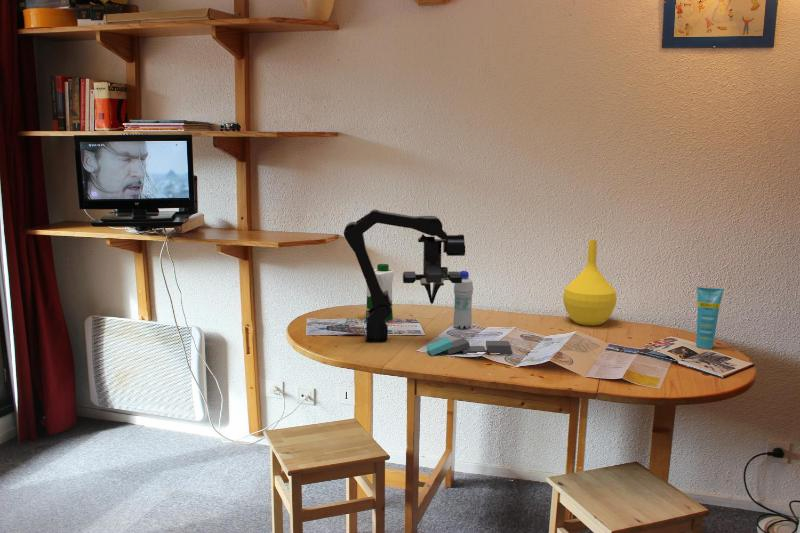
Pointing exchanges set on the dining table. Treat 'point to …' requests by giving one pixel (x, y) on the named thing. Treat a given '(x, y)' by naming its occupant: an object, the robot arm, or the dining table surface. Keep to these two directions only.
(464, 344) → the domino
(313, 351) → the dining table surface
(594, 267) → the vase
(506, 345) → the domino
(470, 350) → the domino
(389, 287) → the milk carton
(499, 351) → the domino
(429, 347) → the domino
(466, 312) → the bottle
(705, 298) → the tube
